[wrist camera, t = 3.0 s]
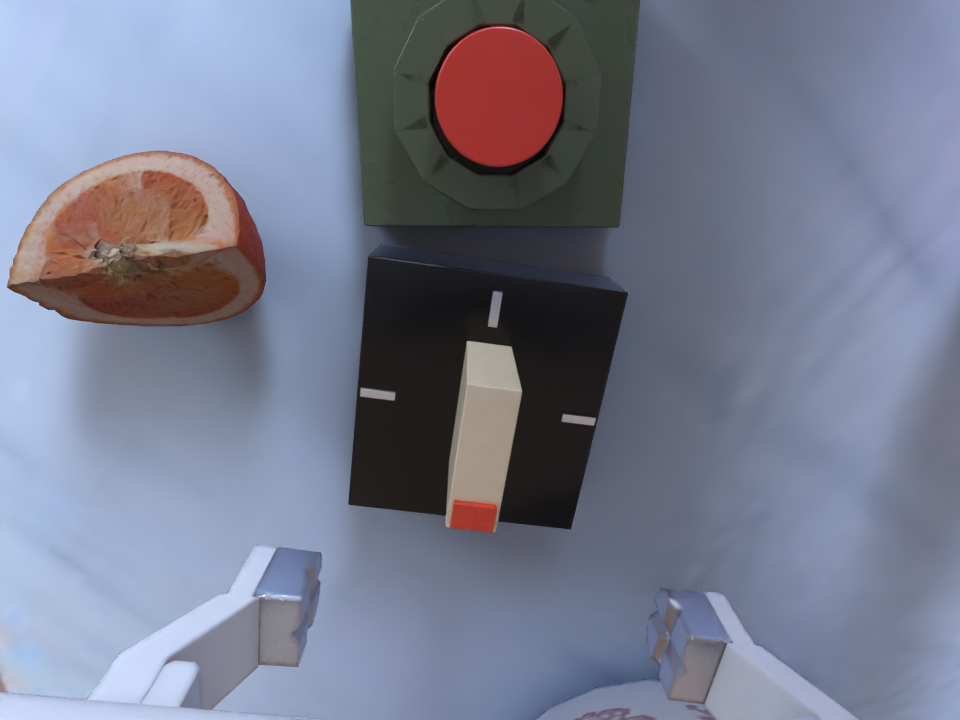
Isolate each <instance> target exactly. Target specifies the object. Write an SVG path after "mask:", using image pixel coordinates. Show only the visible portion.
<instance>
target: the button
mask: <svg viewBox="0 0 960 720" xmlns="http://www.w3.org/2000/svg"><path fill="white" fill-rule="evenodd" d="M562 102H563V89H562V82H561V78H560V74H559V71H558V68H557V66H556V63H555V62H554V60H553V58H552V56H551V55H550V53H549V52H548V51H547V49H546V48H545V47H544V46H543V45H542V44H541V43H540V42H539V41H538V40H536V39H535V38H534V37H533V36H531V35H529V34H527V33H526V32H523V31H521V30H518V29H515V28H511V27H503V26H497V27H488V28H484V29H481V30H478V31H475V32H473V33H472V34H470V35H468V36H466V37H465V38H464V39H462V40H461V41H460V42H459V43H458V44H457V45H456V46H455V47H454V48H453V49H452V50H451V51H450V53H449V54H448V55H447V57H446V59H445V60H444V62H443V64H442V66H441V69H440V71H439V74H438V78H437V82H436V88H435V106H436V112H437V117H438V120H439V123H440V126H441V128H442V130H443V132H444V134H445V136H446V138H447V139H448V141H449V142H450V143H451V144H452V146H453V147H454V148H455V149H456V150H457V151H458V152H459V153H460V154H462V155H463V156H465V157H466V158H467V159H469V160H471V161H473V162H476V163H478V164H481V165H485V166H489V167H507V166H512V165H516V164H518V163H521V162H523V161H525V160H527V159H529V158H531V157H532V156H533V155H535V154H536V153H537V152H538V151H540V150H541V149H542V148H543V147H544V145H545V144H546V143H547V142H548V141H549V139H550V138H551V136H552V135H553V133H554V131H555V129H556V127H557V124H558V121H559V119H560V115H561V110H562Z"/></svg>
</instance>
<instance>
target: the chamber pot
mask: <svg viewBox="0 0 960 720" xmlns="http://www.w3.org/2000/svg"><path fill="white" fill-rule="evenodd" d="M536 720H716V719H715V718H714V717H713V716H712V715H711V714H710V713H709V712H708V710H707V709H706V708H705V707H704V704H697V703H689V702H680V701H672V700H668V699H667V697H666V694H665V691H664V689H663V686H662V684H661V681H660V680H649V679H641V680H635V681H630V682H624V683H618V684H612V685H606V686H600V687H595V688H593V689H591V690H588V691H586V692H584V693H581V694H579V695H577V696H574V697H572V698H570V699H567V700H565V701H563V702H560V703H558V704H556V705H553V706H552V707H551V708H550V709H548V710H547V711H546V712H544V713H543V714H542V715H541V716H539V717H538V718H537V719H536Z"/></svg>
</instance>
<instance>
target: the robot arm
mask: <svg viewBox="0 0 960 720" xmlns="http://www.w3.org/2000/svg"><path fill="white" fill-rule="evenodd" d="M321 567H322V554H321V552H313V551H305V550H297V549H289V548H281V547H279V548H277V547H271V546H263V545H256V546H255V547H254V548H253V549H252V550H251V552H250V554H249V556H248V558H247V559H246V561H245V563H244V565H243V566H242V568H241V570H240V572H239V574H238V575H237V577H236V579H235V581H234V582H233V584H232V586H231V588H230V590H229V591H228V593H227V594H222V593H220V594H219V595H217V596H215V597H214V598H212V599H210V600H209V601H207V602H205V603H203V604H202V605H200V606H198V607H197V608H195V609H193V610H192V611H190V612H188V613H187V614H185V615H183V616H182V617H180V618H178V619H176V620H175V621H173V622H171V623H170V624H168V625H166V626H165V627H163V628H161V629H160V630H158V631H156V632H155V633H153V634H151V635H149V636H148V637H146V638H144V639H143V640H141V641H139V642H138V643H136V644H134V645H133V646H131V647H129V648H128V649H126V650H124V651H122V652H121V653H119V655H118V656H117V657H116V659H115V660H114V661H113V663H112V664H111V666H110V667H109V668H108V670H107V671H106V673H105V674H104V675H103V677H102V678H101V680H100V681H99V682H98V684H97V685H96V687H95V688H94V689H93V691H92V692H91V694H90V695H89V696H88V698H87V699H75V698H63V697H51V696H39V695H28V694H16V693H4V692H0V720H326V719H314V718H302V717H290V716H278V715H266V714H254V713H242V712H230V711H218V710H211V709H212V708H213V707H215V706H216V705H217V704H218V703H219V702H220V701H221V700H222V699H223V698H224V697H226V696H227V695H228V694H229V693H230V692H231V691H232V690H233V689H234V688H235V687H236V686H238V685H239V684H240V683H241V682H242V681H243V680H244V679H245V678H246V677H247V676H249V675H250V674H251V673H252V672H253V671H254V670H255V669H256V668H257V667H258V665H274V666H290V667H298V666H299V663H300V660H301V657H302V654H303V651H304V648H305V645H306V642H307V629H308V628H310V627H311V626H312V624H313V621H314V618H315V614H316V610H317V606H318V601H319V594H320V581H319V580H318V576H319V573H320V570H321ZM655 604H656V606H657V608H658V610H656V611H655V612H654V613H653V614H651V615H650V617H649V621H648V625H647V644H648V649H649V652H650V655H651V657H652V659H653V660H654V661H656V662H657V663H658V664H659V665H660V670H659V673H658V676H659V679H660V681H661V684H662V686H663V689H664V691H665V694H666V697H667V699H668V700H672V701H680V702H689V703H697V704H704V707H705V708H706V709H707V710H708V712H709V713H710V714H711V715H712V716H713V717H714V718H715V719H716V720H860V719H859V718H857V717H856V716H855V715H853V714H852V713H851V712H849V711H848V710H847V709H845V708H844V707H843V706H841V705H840V704H839V703H837V702H836V701H835V700H833V699H832V698H830V697H829V696H828V695H826V694H825V693H824V692H822V691H821V690H820V689H818V688H817V687H816V686H814V685H813V684H812V683H810V682H809V681H808V680H806V679H805V678H804V677H802V676H801V675H800V674H798V673H797V672H796V671H794V670H793V669H792V668H790V667H789V666H787V665H786V664H785V663H783V662H782V661H781V660H779V659H778V658H777V657H775V656H774V655H773V654H771V653H770V652H769V651H767V650H766V649H765V648H763V647H762V646H756V645H755V644H754V642H753V641H752V639H751V638H750V636H749V634H748V633H747V631H746V629H745V628H744V626H743V624H742V623H741V621H740V620H739V618H738V616H737V615H736V613H735V611H734V610H733V608H732V606H731V605H730V603H729V601H728V600H727V598H726V597H725V596H724V595H723V594H722V593H716V592H703V591H701V592H697V591H687V590H677V589H666V588H660V590H659V591H658V592H657V595H656V598H655Z"/></svg>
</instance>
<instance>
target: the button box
mask: <svg viewBox="0 0 960 720" xmlns="http://www.w3.org/2000/svg"><path fill="white" fill-rule="evenodd" d="M350 1H351V18H352V34H353V50H354V66H355V82H356V99H357V115H358V131H359V147H360V163H361V179H362V196H363V212H364V224H365V226H422V227H619V225H620V216H621V205H622V193H623V182H624V171H625V160H626V149H627V138H628V127H629V116H630V105H631V94H632V83H633V72H634V61H635V49H636V38H637V27H638V16H639V5H640V0H350ZM497 26H503V27H511V28H515V29H518V30H521V31H523V32H526V33H527V34H529V35H531V36H533V37H534V38H535V39H536V40H538V41H539V42H540V43H541V44H542V45H543V46H544V47H545V48H546V49H547V51H548V52H549V53H550V55H551V56H552V58H553V60H554V62H555V63H556V66H557V68H558V71H559V74H560V78H561V82H562V89H563V102H562V110H561V115H560V119H559V121H558V124H557V127H556V129H555V131H554V133H553V135H552V136H551V138H550V139H549V141H548V142H547V143H546V144H545V145H544V147H543V148H542V149H541V150H540V151H538V152H537V153H536V154H535V155H533V156H532V157H531V158H529V159H527V160H525V161H523V162H521V163H518V164H516V165H512V166H507V167H489V166H485V165H481V164H478V163H476V162H473V161H471V160H469V159H467V158H466V157H465V156H463V155H462V154H460V153H459V152H458V151H457V150H456V149H455V148H454V147H453V146H452V144H451V143H450V142H449V141H448V139H447V138H446V136H445V134H444V132H443V130H442V128H441V126H440V123H439V120H438V117H437V112H436V106H435V88H436V82H437V78H438V74H439V71H440V69H441V66H442V64H443V62H444V60H445V59H446V57H447V55H448V54H449V53H450V51H451V50H452V49H453V48H454V47H455V46H456V45H457V44H458V43H459V42H460V41H461V40H462V39H464V38H465V37H466V36H468V35H470V34H472V33H473V32H475V31H478V30H481V29H484V28H488V27H497Z"/></svg>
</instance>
